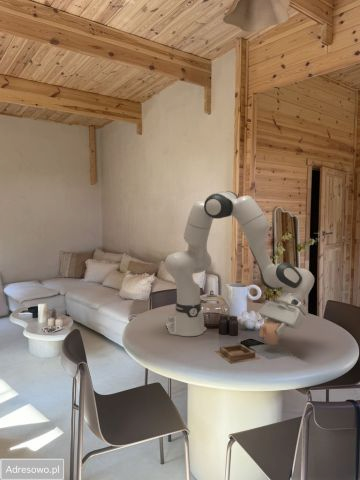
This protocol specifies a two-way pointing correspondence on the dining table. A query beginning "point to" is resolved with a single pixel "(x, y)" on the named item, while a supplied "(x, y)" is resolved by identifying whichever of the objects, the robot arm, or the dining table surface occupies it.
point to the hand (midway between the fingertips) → (270, 330)
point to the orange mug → (270, 332)
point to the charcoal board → (271, 351)
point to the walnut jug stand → (237, 353)
